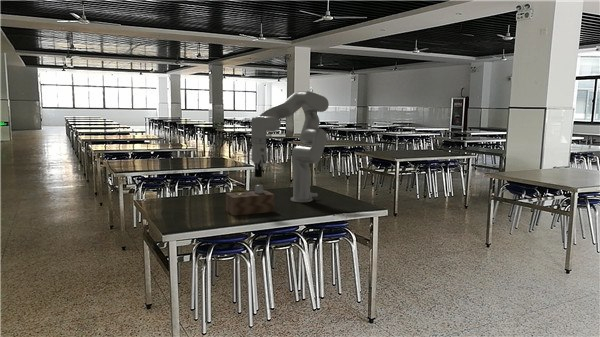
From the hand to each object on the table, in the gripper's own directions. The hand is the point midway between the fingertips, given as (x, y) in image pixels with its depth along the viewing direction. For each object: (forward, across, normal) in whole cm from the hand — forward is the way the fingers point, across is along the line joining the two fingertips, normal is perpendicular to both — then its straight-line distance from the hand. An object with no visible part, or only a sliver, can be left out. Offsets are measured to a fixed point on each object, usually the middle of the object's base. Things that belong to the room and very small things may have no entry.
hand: (258, 176), depth 234 cm
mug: (+18, +19, +3) cm, 26 cm away
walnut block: (+18, 0, +4) cm, 18 cm away
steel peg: (+12, 0, -1) cm, 13 cm away
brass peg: (+16, 0, +9) cm, 19 cm away
